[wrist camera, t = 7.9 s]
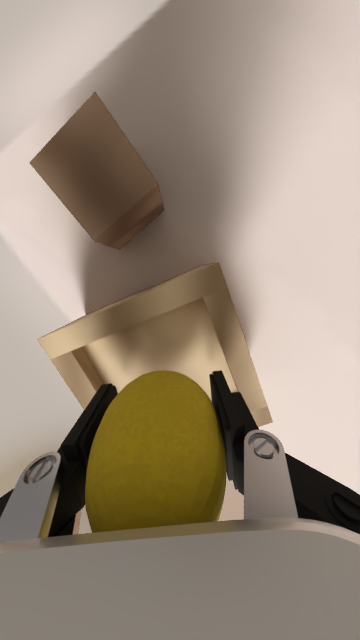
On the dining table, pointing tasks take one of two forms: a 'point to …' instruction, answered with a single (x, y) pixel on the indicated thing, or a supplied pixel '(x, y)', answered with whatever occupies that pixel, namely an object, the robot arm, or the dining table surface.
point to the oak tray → (160, 340)
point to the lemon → (156, 457)
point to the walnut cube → (100, 176)
